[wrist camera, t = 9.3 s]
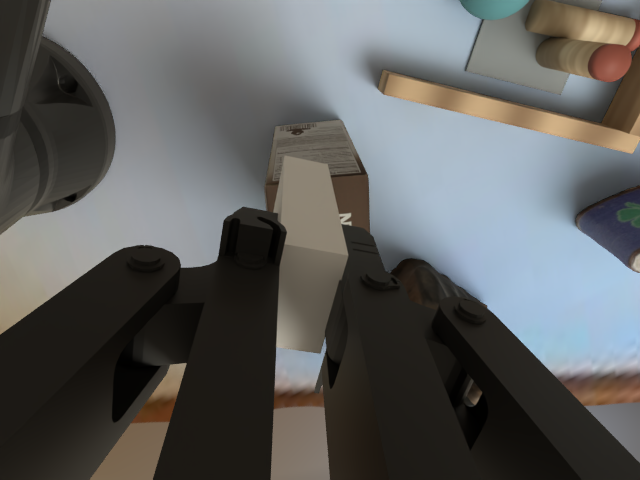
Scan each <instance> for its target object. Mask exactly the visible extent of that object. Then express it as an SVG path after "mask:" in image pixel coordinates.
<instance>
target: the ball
mask: <svg viewBox="0 0 640 480" xmlns="http://www.w3.org/2000/svg"><path fill="white" fill-rule="evenodd" d="M459 1H460V2H461V4H462V6H463V7H464V8H465V9H466V10H467V11H468V12H469V13H470V14H472V15H474V16H475V17H478V18H480V19H485V20H498V19H503V18H505V17H508V16H510V15H512V14H514V13H516V12H517V11H519V10H520V9H521V8H523V7H524V6H525V5H526V4H527V3H528V2H529V0H459Z"/></svg>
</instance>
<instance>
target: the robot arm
mask: <svg viewBox="0 0 640 480" xmlns="http://www.w3.org/2000/svg"><path fill="white" fill-rule="evenodd" d="M50 2H51V0H0V235H1V234H2V233H3V232H4V231H6V230H7V229H8V228H9V227H11V226H12V225H13V224H15V223H16V222H17V221H18V220H20V219H21V218H22V217H25V216H31V215H37V214H43V213H48V212H53V211H57V210H60V209H63V208H66V207H68V206H70V205H72V204H74V203H76V202H78V201H79V200H81V199H82V198H83V197H85V196H86V195H87V194H88V193H89V192H90V191H91V190H93V189H94V188H95V187H96V186H97V185H98V184H99V183H100V182H101V180H102V179H103V178H104V176H105V175H106V173H107V171H108V169H109V167H110V165H111V162H112V159H113V155H114V150H115V126H114V121H113V116H112V113H111V110H110V107H109V104H108V102H107V100H106V97H105V95H104V94H103V92H102V90H101V88H100V87H99V85H98V83H97V82H96V81H95V79H94V78H93V76H92V75H91V74H90V73H89V71H88V70H87V69H86V68H85V67H84V66H83V65H82V64H81V63H80V62H79V61H78V60H77V59H76V58H75V57H74V56H72V55H71V54H70V53H69V52H67V51H66V50H65V49H63V48H62V47H60V46H59V45H57V44H56V43H54V42H52V41H50V40H48V39H46V38H44V37H42V33H43V30H44V26H45V22H46V18H47V14H48V10H49V6H50ZM325 337H326V347H327V349H326V352H325V356H324V359H323V363H322V366H321V369H320V373H319V376H318V380H317V383H316V387H315V391H314V393H319V391H320V388H321V386H322V385H323V394H324V407H325V420H326V431H327V445H328V458H329V470H330V480H640V463H639V462H638V461H637V460H636V459H635V458H634V457H633V456H632V455H631V454H630V453H629V452H628V451H627V450H626V449H625V448H624V447H623V446H622V445H621V444H620V443H619V441H618V440H617V439H616V438H615V437H614V436H612V434H611V433H610V432H609V431H608V430H607V429H606V428H605V427H604V426H603V425H602V424H601V423H600V422H599V421H598V420H597V419H596V418H595V417H594V416H593V415H592V414H591V413H590V412H589V411H588V410H587V409H586V408H585V407H584V406H583V405H582V404H581V403H580V402H579V401H578V399H577V398H576V397H575V396H574V395H573V394H572V393H571V392H570V391H569V390H568V389H567V388H566V387H565V386H564V385H563V384H562V383H561V382H560V381H559V380H558V379H557V378H556V377H555V376H554V375H553V374H552V373H551V372H550V371H549V370H548V369H547V368H546V367H545V366H544V365H543V364H542V363H541V362H540V361H539V360H538V359H537V358H536V357H535V356H534V354H533V353H532V352H531V351H530V350H529V349H528V348H527V347H526V346H525V345H524V344H523V343H522V342H521V341H520V340H519V339H518V338H517V337H516V336H515V335H514V334H513V333H512V332H511V331H510V330H509V329H508V328H507V327H506V326H505V325H504V324H503V323H502V322H501V321H500V320H499V319H498V318H497V317H496V316H495V315H494V314H493V313H492V312H491V311H490V310H488V309H487V308H486V307H484V306H482V305H481V304H479V303H478V302H477V301H474V300H472V299H470V300H469V298H465V297H456V296H451V297H445V298H443V299H442V300H441V301H440V303H439V306H438V308H437V310H435V309H432V308H429V307H426V306H423V305H421V304H418V303H415V302H413V301H411V300H410V299H409V296H408V294H407V291H406V289H405V287H404V285H403V284H402V282H401V281H400V280H399V279H397V278H396V277H395V276H393V275H392V274H390V273H388V272H386V271H385V269H384V266H383V263H382V260H381V258H380V255H379V252H378V249H377V248H376V243H375V241H374V238H373V236H372V235H371V234H369V233H368V232H367V231H366V230H365V229H364V228H361V227H356V226H350V225H345V224H341V220H340V216H339V212H338V207H337V203H336V198H335V194H334V190H333V185H332V181H331V177H330V172H329V168H328V164H324V163H319V162H314V161H309V160H305V159H300V158H295V157H290V156H284V161H283V166H282V171H281V176H280V181H279V186H278V191H277V196H276V201H275V206H274V211H273V212H269V211H263V210H258V209H253V208H247V207H242V208H241V209H239V210H237V211H236V212H234V214H233V215H230V216H228V217H227V218H226V219H225V220H224V223H223V229H222V236H221V242H220V249H219V256H218V259H217V261H216V262H214V263H212V264H210V265H206V266H202V267H193V268H181V264H180V260H179V258H178V257H177V256H176V255H174V254H173V253H172V252H170V251H167V250H165V249H163V248H158V247H154V246H149V245H145V246H144V245H137V246H133V247H127V248H123V249H121V250H119V251H117V252H115V253H113V254H112V255H110V256H109V257H108V258H106V259H105V260H103V261H102V262H101V263H99V264H98V265H96V266H95V267H94V268H92V269H91V270H90V271H88V272H87V273H85V274H84V275H83V276H81V277H80V278H78V279H77V280H76V281H74V282H73V283H71V284H70V285H69V286H67V287H66V288H65V289H63V290H62V291H60V292H59V293H58V294H56V295H55V296H53V297H52V298H51V299H49V300H48V301H46V302H45V303H44V304H42V305H41V306H40V307H38V308H37V309H35V310H34V311H33V312H31V313H30V314H28V315H27V316H26V317H24V318H23V319H21V320H20V321H19V322H17V323H16V324H15V325H13V326H12V327H10V328H9V329H8V330H6V331H5V332H3V333H2V334H1V335H0V480H90V478H91V477H92V475H93V474H94V472H95V471H96V470H97V468H98V467H99V466H100V464H101V463H102V462H103V460H104V459H105V457H106V456H107V455H108V453H109V452H110V451H111V449H112V448H113V447H114V445H115V444H116V443H117V441H118V440H119V438H120V437H121V436H122V434H123V433H124V432H125V430H126V429H127V427H128V426H129V425H130V423H131V422H132V421H133V419H134V418H135V417H136V415H137V414H138V412H139V411H140V410H141V408H142V407H143V406H144V404H145V403H146V401H147V400H148V399H149V397H150V396H151V395H152V393H153V392H154V390H155V389H156V388H157V386H158V385H159V384H160V382H161V381H162V380H163V378H164V377H165V375H166V374H167V371H168V369H169V366H170V364H180V363H187V365H186V368H185V372H184V375H183V378H182V382H181V385H180V389H179V392H178V395H177V399H176V402H175V406H174V409H173V413H172V416H171V419H170V423H169V426H168V430H167V433H166V437H165V440H164V443H163V447H162V450H161V453H160V457H159V460H158V464H157V467H156V471H155V474H154V477H153V480H270V478H271V454H272V432H273V409H274V386H275V363H276V347H279V348H285V349H292V350H299V351H306V352H313V353H321V349H322V346H323V342H324V339H325ZM473 381H474V382H475V384H476V385H477V386H478V387H479V389H480V390H481V391H482V394H481V396H480V398H479V400H478V402H477V403H476V405H474V404H473V403H472V402H471V401H470V400H469V398H468V397H467V394H468V392H469V390H470V387H471V385H472V383H473Z"/></svg>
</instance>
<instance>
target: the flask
mask: <svg viewBox="0 0 640 480" xmlns="http://www.w3.org/2000/svg"><path fill="white" fill-rule="evenodd" d="M577 221H578V222H577ZM576 222H577V224H576V226H577V227H578V229H579V230H580V231H582V232H583V233H584V234H586V235H588V236H589V237H590V238H592V239H593V240H594V241H596V242H597V243H598V244H599V245H601V246H602V247H604V248H605V249H607V250H608V251H609V252H610V253H612V254H613V255H614V256H616V257H617V258H618V259H619V260H620V261H622V262H623V263H624V264H625V265H626V266H627V267H628V268H630V269H632V270H633V271H635V272H637V273H640V186H637V187H632V188H629V189H627V190H625V191H622V192H620V193H618V194H616V195H612V196H610V197H608V198H606V199H603V200H602V201H600V202H597V203H595V204H593V205H590V206H589V207H587V208H586V209H585V210H583V211H581V212H580V214H578V215H577V218H576Z"/></svg>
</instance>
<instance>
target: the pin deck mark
mask: <svg viewBox="0 0 640 480" xmlns="http://www.w3.org/2000/svg"><path fill="white" fill-rule="evenodd" d="M534 1H535V0H529V2H528V3H527V4H526V5H525V6H524V7H523V8H521V9H520V10H519V11H517V12H516V13H514V14H512V15H510V16H508V17H505V18H503V19H498V20H485V19H483V22H482V25H481V28H480V31H479V33H478V36H477V39H476V42H475V45H474V48H473V51H472V54H471V56H470V59H469V62H468V65H467V68H466V71H468V72H472V73H475V74H479V75H483V76H487V77H491V78H495V79H499V80H503V81H507V82H511V83H515V84H519V85H523V86H527V87H531V88H535V89H539V90H543V91H547V92H551V93H555V94H558V95H561V93H562V91H563V88H564V86H565V84H566V81H567V79H568V77H569V75H570V73H566V72H562V71H557V70H553V69H549V68H544V67H542V66H540V65H539V64H538V63H537V60H536V51H537V48H538V47H539V45H540V44H541V43H542V42H543V41H544V40H546V39H548V38H551V37H553V36H549V35H544V34H539V33H534V32H529V31H527V30H526V29H525V22H526V19H527V16H528V13H529V10H530V8H531V5H532V4H533V2H534ZM549 1H554V2H558V3H563V4H568V5H572V6H577V7H581V8H586V9H591V10H595V11H598V9H599V7H600V4H601V2H602V0H549ZM555 38H558V37H555Z"/></svg>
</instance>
